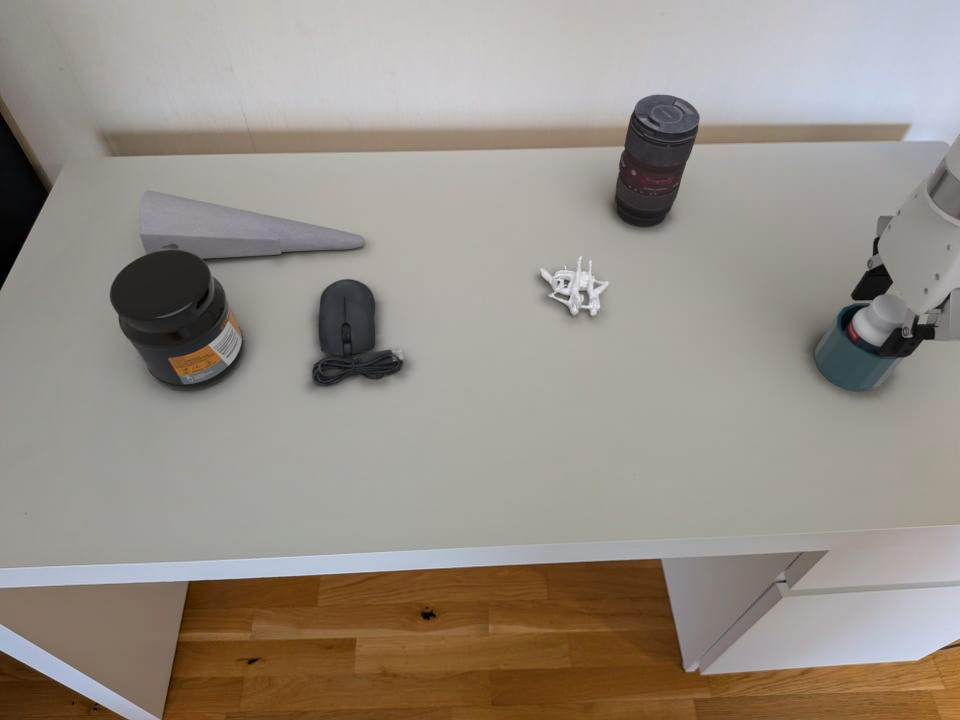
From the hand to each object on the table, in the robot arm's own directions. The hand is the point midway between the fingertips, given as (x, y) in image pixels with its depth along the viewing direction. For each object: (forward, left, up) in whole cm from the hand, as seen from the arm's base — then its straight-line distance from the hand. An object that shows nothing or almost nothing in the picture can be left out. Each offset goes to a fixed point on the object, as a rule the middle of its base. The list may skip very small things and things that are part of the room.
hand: (879, 324), depth 71 cm
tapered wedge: (+69, -22, -7) cm, 73 cm away
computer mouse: (+56, -6, -7) cm, 57 cm away
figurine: (+30, -11, -7) cm, 33 cm away
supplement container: (+73, -3, -7) cm, 73 cm away
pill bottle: (0, 0, -6) cm, 6 cm away
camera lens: (+19, -26, -7) cm, 33 cm away
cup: (0, 0, -7) cm, 7 cm away
